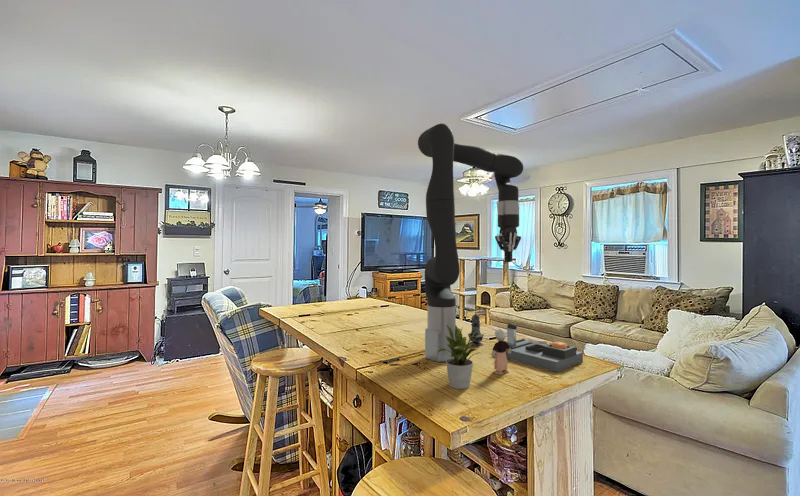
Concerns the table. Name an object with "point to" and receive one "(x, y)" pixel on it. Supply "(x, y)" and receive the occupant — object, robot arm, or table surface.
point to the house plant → (459, 359)
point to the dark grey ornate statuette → (476, 328)
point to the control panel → (544, 355)
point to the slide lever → (511, 334)
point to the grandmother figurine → (500, 352)
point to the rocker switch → (537, 341)
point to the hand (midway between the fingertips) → (508, 261)
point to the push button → (559, 345)
